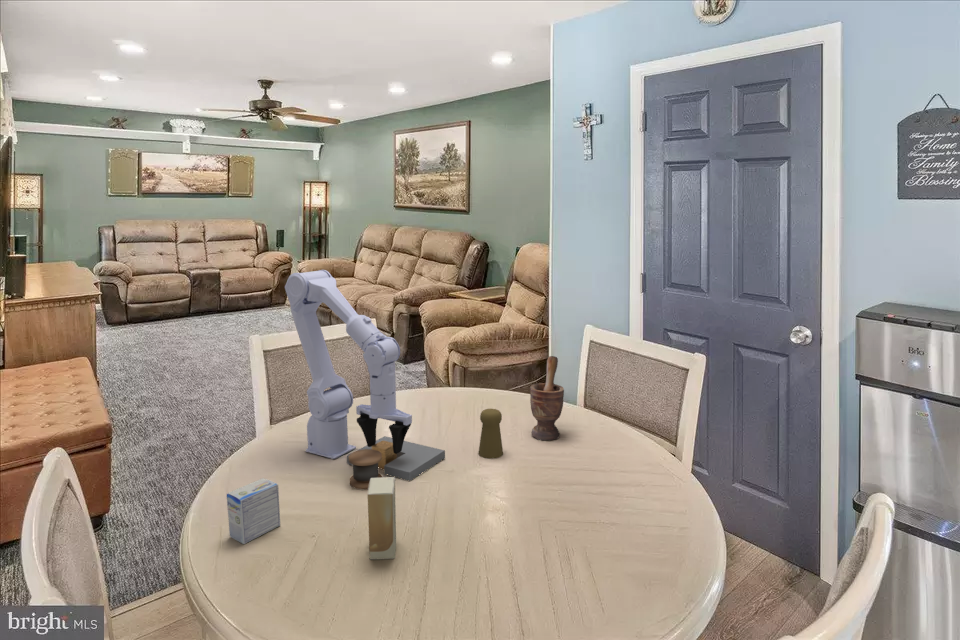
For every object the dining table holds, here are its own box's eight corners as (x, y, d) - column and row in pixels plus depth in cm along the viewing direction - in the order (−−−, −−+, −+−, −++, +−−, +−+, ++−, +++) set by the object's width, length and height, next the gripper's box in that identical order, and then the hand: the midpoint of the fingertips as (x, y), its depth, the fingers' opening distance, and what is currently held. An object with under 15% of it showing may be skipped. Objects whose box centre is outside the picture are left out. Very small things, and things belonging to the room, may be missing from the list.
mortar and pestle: (526, 425, 164) (527, 354, 161) (558, 425, 165) (560, 354, 161) (531, 441, 153) (532, 365, 149) (565, 441, 153) (567, 365, 150)
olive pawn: (501, 459, 142) (501, 415, 140) (475, 457, 143) (476, 413, 141) (505, 449, 148) (505, 407, 146) (480, 447, 149) (481, 405, 147)
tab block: (372, 466, 138) (371, 446, 137) (383, 460, 141) (382, 440, 141) (385, 470, 136) (385, 449, 135) (396, 464, 139) (396, 443, 139)
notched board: (346, 463, 139) (346, 455, 139) (385, 443, 151) (384, 436, 151) (409, 481, 131) (409, 472, 130) (444, 458, 143) (444, 450, 142)
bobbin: (342, 484, 129) (341, 458, 128) (364, 472, 135) (363, 446, 134) (368, 491, 126) (367, 464, 124) (389, 479, 132) (388, 453, 130)
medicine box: (266, 519, 114) (263, 476, 113) (281, 526, 112) (278, 483, 110) (229, 537, 108) (225, 492, 106) (244, 545, 106) (240, 499, 104)
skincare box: (372, 540, 107) (370, 476, 105) (396, 539, 108) (395, 475, 105) (368, 561, 101) (366, 493, 99) (394, 560, 101) (393, 492, 99)
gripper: (346, 391, 136) (348, 448, 138) (397, 402, 129) (399, 461, 131) (367, 383, 142) (368, 438, 144) (417, 393, 135) (417, 450, 137)
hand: (384, 448), depth 138 cm, fingers open, 7 cm apart
